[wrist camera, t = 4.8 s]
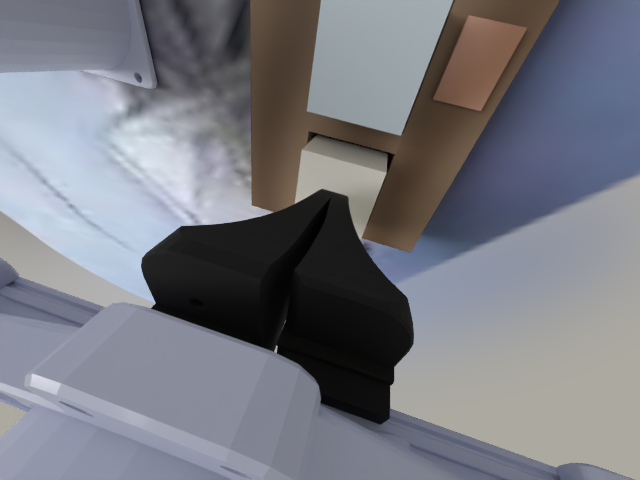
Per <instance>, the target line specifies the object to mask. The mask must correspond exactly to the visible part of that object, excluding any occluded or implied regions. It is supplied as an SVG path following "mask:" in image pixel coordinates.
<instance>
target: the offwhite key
mask: <svg viewBox="0 0 640 480" xmlns="http://www.w3.org/2000/svg"><path fill="white" fill-rule="evenodd" d="M387 155H388V154H387V153H383V152H379V151H376V150H372V149H368V148H364V147H361V146H357V145H353V144H350V143H346V142H342V141H338V140H335V139H331V138H327V137H324V136H320V135H316V136H315V137H314V138H313V139H312V140H311V141H310V142H309V143H308V144H307V145H306V146H305V147H304V148H303V149H302V152H301V159H300V167H299V175H298V182H297V190H296V198H295V203H298V202H299V201H301V200H303V199H305V198H307V197H308V196H310V195H312V194H313V193H315V192H317V191H318V190H320V189H325V190H329V191H332V192H335V193H339V194H342V195H346V196H348V198H349V208H350V213H351V217H352V221H353V224H354V227H355V229H356V232H357V234H358V237H359V239H360V240H361V238H362V235H363V233H364V230H365V227H366V225H367V222H368V220H369V217H370V214H371V212H372V209H373V207H374V204H375V202H376V199H377V196H378V194H379V191H380V189H381V186H382V183H383V181H384V178H385V176H386V173H387Z"/></svg>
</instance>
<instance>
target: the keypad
mask: <svg viewBox="0 0 640 480" xmlns="http://www.w3.org/2000/svg"><path fill="white" fill-rule="evenodd" d="M559 1H560V0H453V2H452V5H451V7H450V10H449V12H448V15H447V18H446V20H445V23H444V25H443V28H442V31H441V33H440V36H439V38H438V41H437V43H436V46H435V49H434V51H433V54H432V56H431V59H430V62H429V64H428V67H427V69H426V72H425V75H424V77H423V80H422V82H421V85H420V88H419V90H418V93H417V95H416V98H415V100H414V103H413V106H412V108H411V111H410V113H409V116H408V119H407V121H406V124H405V126H404V129H403V132H402V134H401V136H400V135H396V134H392V133H388V132H384V131H380V130H377V129H373V128H369V127H365V126H361V125H358V124H354V123H350V122H346V121H342V120H339V119H335V118H331V117H327V116H323V115H319V114H316V113H312V112H308V111H307V105H308V98H309V90H310V82H311V74H312V67H313V59H314V51H315V44H316V36H317V28H318V20H319V13H320V5H321V0H250V34H251V162H252V205H253V206H256V207H260V208H263V209H266V210H270V211H273V212H277V211H280V210H282V209H285V208H287V207H289V206H291V205H293V204H295V198H296V190H297V182H298V175H299V167H300V159H301V152H302V149H303V148H304V147H305V146H306V145H307V144H308V143H309V142H310V141H311V140H312V139H313V138H314V137H315V136H316V135H318V134H322V135H325V136H329V137H333V138H337V139H340V140H344V141H348V142H351V143H355V144H359V145H363V146H366V147H370V148H374V149H377V150H381V151H385V152H389V153H390V156H389V158H388V161H387V173H386V176H385V178H384V181H383V183H382V186H381V189H380V191H379V194H378V196H377V199H376V202H375V204H374V207H373V209H372V212H371V214H370V217H369V220H368V222H367V225H366V227H365V230H364V233H363V235H362V238H363V239H367V240H370V241H373V242H377V243H380V244H383V245H387V246H390V247H393V248H397V249H400V250H403V251H407V252H411V251H412V249H413V247H414V246H415V244H416V242H417V241H418V239H419V237H420V236H421V234H422V232H423V230H424V229H425V227H426V225H427V224H428V222H429V220H430V219H431V217H432V215H433V214H434V212H435V210H436V209H437V207H438V205H439V204H440V202H441V200H442V198H443V197H444V195H445V193H446V192H447V190H448V188H449V187H450V185H451V183H452V182H453V180H454V178H455V177H456V175H457V173H458V172H459V170H460V168H461V166H462V165H463V163H464V161H465V160H466V158H467V156H468V155H469V153H470V151H471V150H472V148H473V146H474V145H475V143H476V141H477V139H478V138H479V136H480V134H481V133H482V131H483V129H484V128H485V126H486V124H487V123H488V121H489V119H490V118H491V116H492V114H493V113H494V111H495V109H496V107H497V106H498V104H499V102H500V101H501V99H502V97H503V96H504V94H505V92H506V91H507V89H508V87H509V86H510V84H511V82H512V81H513V79H514V77H515V75H516V74H517V72H518V70H519V69H520V67H521V65H522V64H523V62H524V60H525V59H526V57H527V55H528V54H529V52H530V50H531V49H532V47H533V45H534V43H535V42H536V40H537V38H538V37H539V35H540V33H541V32H542V30H543V28H544V27H545V25H546V23H547V22H548V20H549V18H550V16H551V15H552V13H553V11H554V10H555V8H556V6H557V5H558V3H559Z"/></svg>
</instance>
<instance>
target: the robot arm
mask: <svg viewBox="0 0 640 480" xmlns="http://www.w3.org/2000/svg"><path fill="white" fill-rule="evenodd" d="M71 70H80V71H84V72H88V73H91V74H95V75H99V76H102V77H106V78H110V79H114V80H117V81H121V82H125V83H128V84H132V85H136V86H140V87H143V88H147V89H154V88H156V87H157V79H156V74H155V70H154V66H153V61H152V57H151V52H150V48H149V43H148V39H147V34H146V30H145V25H144V21H143V16H142V12H141V7H140V3H139V0H0V73H2V72H36V71H71ZM139 74H140V75H139ZM140 76H141V78H142V80H141V78H140ZM141 268H142V272H143V276H144V278H145V280H146V283H147V285H148V287H149V289H150V291H151V293H152V296H153V298H154V300H155V302H156V304H155V305H154V306H153V307H152V308H151V309H150V308H147V307H144V306H138V305H133V304H128V303H114V304H111V305H109V306H108V307H103V306H100V305H97V304H94V303H92V302H89V301H86V300H83V299H80V298H78V297H75V296H72V295H69V294H66V293H63V292H60V291H58V290H55V289H52V288H49V287H47V286H44V285H41V284H38V283H35V282H33V281H30V280H27V279H24V278H21V277H19V274H18V273H17V272H16V270H15V269H14V268H13V267H12V266H11V265H9V264H8V263H7V262H6V261H4V260H3V259H1V258H0V401H1V402H4V403H6V404H8V405H11V406H13V407H16V408H18V409H20V410H23V411H25V412H27V413H26V414H25V415H24V416H23V417H22V418H21V419H20V420H19V421H18V422H17V423H16V424H15V425H14V426H13V427H12V428H11V429H10V430H8V431H7V432H6V433H5V434H4V435H3V437H1V438H0V480H634V479H632V478H629V477H626V476H623V475H620V474H617V473H614V472H611V471H609V470H606V469H603V468H600V467H597V466H594V465H589V464H583V463H569V464H564V465H560V466H558V467H557V468H556V467H553V466H550V465H547V464H544V463H541V462H539V461H536V460H533V459H530V458H527V457H525V456H522V455H519V454H516V453H514V452H511V451H508V450H505V449H502V448H499V447H497V446H494V445H491V444H488V443H485V442H483V441H480V440H477V439H474V438H471V437H469V436H466V435H463V434H460V433H457V432H454V431H452V430H449V429H446V428H443V427H440V426H437V425H435V424H432V423H429V422H426V421H423V420H421V419H418V418H415V417H412V416H409V415H407V414H404V413H401V412H398V411H395V410H393V409H390V385H392V384H393V382H394V367H395V366H396V365H397V363H398V362H399V361H400V360H401V359H402V358H403V357H404V356H405V355H406V354H407V353H408V352H409V350H410V349H411V347H412V345H413V341H414V340H413V339H414V332H413V321H412V317H411V312H410V307H409V303H408V299H407V297H406V296H405V295H404V294H403V293H402V292H401V291H400V290H399V289H398V288H397V287H396V286H395V285H394V284H393V283H392V282H391V281H390V280H389V279H388V278H387V277H386V276H385V275H384V274H383V273H382V272H381V270H380V269H379V268H378V267H377V266H376V264H375V263H374V262H373V260H372V259H371V258H370V256H369V255H368V253H367V252H366V250H365V248H364V247H363V245H362V243H361V241H360V239H359V237H358V234H357V232H356V229H355V227H354V224H353V221H352V217H351V213H350V208H349V198H348V196H346V195H342V194H339V193H335V192H332V191H329V190H325V189H320V190H318V191H317V192H315V193H313V194H312V195H310V196H308V197H307V198H305V199H303V200H301V201H299V202H298V203H295V204H293V205H291V206H289V207H287V208H285V209H282V210H280V211H277V212H274V213H271V214H268V215H265V216H261V217H257V218H252V219H248V220H244V221H238V222H232V223H224V224H214V225H198V226H181V227H180V228H178V229H177V230H176V231H174V232H173V233H172V234H170V235H169V236H168V237H167V238H165V239H164V240H163V241H161V242H160V243H159V244H158V245H156V246H155V247H154V248H152V249H151V250H150V251H148V252H147V253H146V254H145V256H144V257H143V258H142V264H141ZM285 320H286V322H285ZM284 323H285V324H284ZM283 326H284V327H283ZM281 331H282V332H281ZM276 345H277V346H278V348H277V353H275V352H274V350H275V347H276Z"/></svg>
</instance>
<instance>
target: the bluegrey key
mask: <svg viewBox="0 0 640 480" xmlns="http://www.w3.org/2000/svg"><path fill="white" fill-rule="evenodd" d="M452 2H453V0H321V5H320V13H319V20H318V28H317V36H316V44H315V51H314V59H313V67H312V74H311V82H310V90H309V98H308V105H307V111H308V112H312V113H316V114H319V115H323V116H327V117H331V118H335V119H339V120H342V121H346V122H350V123H354V124H358V125H361V126H365V127H369V128H373V129H377V130H380V131H384V132H388V133H392V134H396V135H400V136H401V134H402V132H403V129H404V126H405V124H406V121H407V119H408V116H409V113H410V111H411V108H412V106H413V103H414V100H415V98H416V95H417V93H418V90H419V88H420V85H421V82H422V80H423V77H424V75H425V72H426V69H427V67H428V64H429V62H430V59H431V56H432V54H433V51H434V49H435V46H436V43H437V41H438V38H439V36H440V33H441V31H442V28H443V25H444V23H445V20H446V18H447V15H448V12H449V10H450V7H451V5H452Z"/></svg>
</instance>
